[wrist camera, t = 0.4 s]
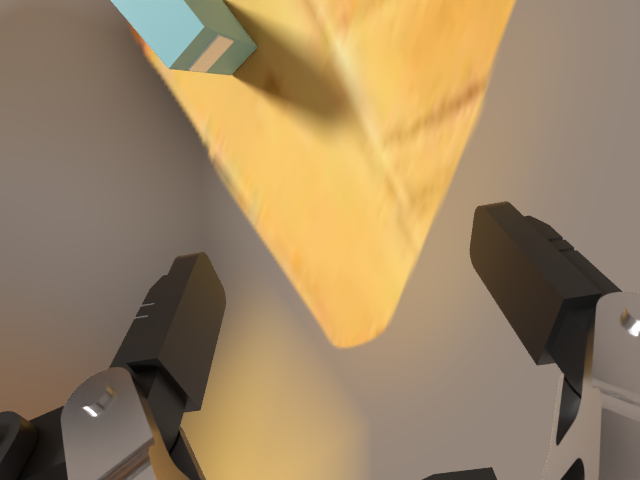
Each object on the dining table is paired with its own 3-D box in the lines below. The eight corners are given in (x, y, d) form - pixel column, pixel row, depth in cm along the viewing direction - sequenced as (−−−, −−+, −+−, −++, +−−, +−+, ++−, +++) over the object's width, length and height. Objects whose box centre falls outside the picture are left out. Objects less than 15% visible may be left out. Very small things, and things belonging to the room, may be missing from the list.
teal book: (219, -5, 31) (141, -54, 21) (258, 48, 33) (205, 28, 22) (192, 27, 33) (107, -4, 22) (232, 76, 34) (170, 70, 23)
